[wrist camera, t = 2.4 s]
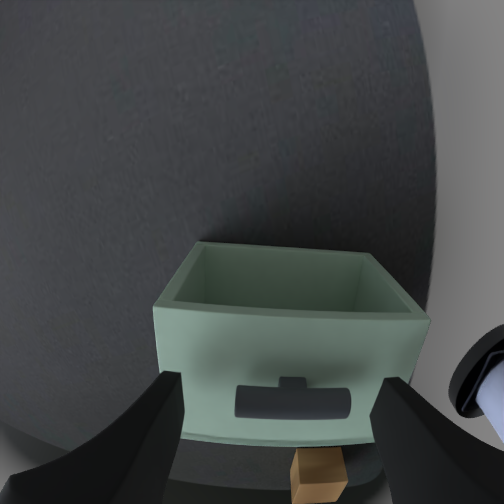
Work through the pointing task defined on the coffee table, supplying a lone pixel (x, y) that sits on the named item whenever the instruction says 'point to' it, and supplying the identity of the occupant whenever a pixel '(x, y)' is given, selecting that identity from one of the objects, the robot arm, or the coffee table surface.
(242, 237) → the coffee table surface
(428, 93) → the coffee table surface
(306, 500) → the block
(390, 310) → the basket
